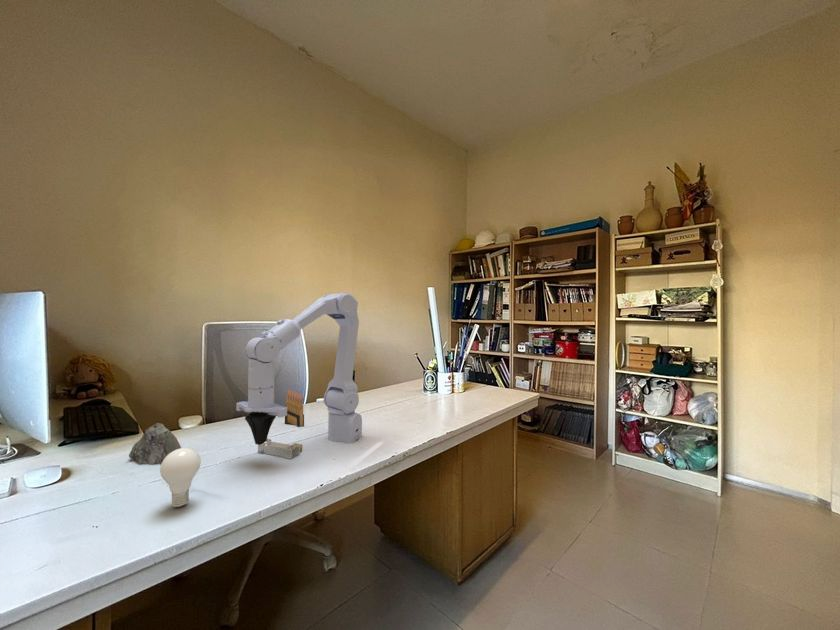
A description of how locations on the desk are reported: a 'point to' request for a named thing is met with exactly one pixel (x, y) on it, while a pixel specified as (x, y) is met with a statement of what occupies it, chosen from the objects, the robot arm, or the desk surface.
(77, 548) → the desk surface
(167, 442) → the mineral rock
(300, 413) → the ammunition clip
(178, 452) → the lightbulb
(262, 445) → the swing bar
